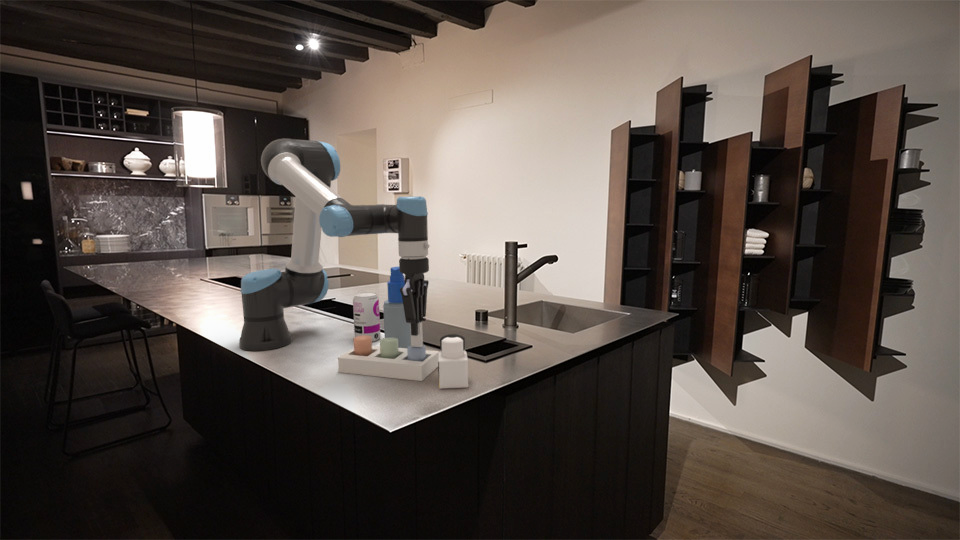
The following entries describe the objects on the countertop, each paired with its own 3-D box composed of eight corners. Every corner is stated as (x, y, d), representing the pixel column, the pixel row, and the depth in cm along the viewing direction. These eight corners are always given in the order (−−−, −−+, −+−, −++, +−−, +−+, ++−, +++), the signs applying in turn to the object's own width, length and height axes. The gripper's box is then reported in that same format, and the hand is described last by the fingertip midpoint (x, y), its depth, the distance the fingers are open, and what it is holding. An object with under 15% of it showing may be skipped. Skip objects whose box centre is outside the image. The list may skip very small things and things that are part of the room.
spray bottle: (394, 342, 155) (391, 264, 151) (419, 344, 152) (416, 265, 148) (379, 350, 146) (376, 268, 143) (405, 353, 143) (403, 270, 140)
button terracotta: (350, 357, 131) (349, 339, 130) (360, 352, 135) (359, 334, 134) (366, 359, 129) (365, 341, 128) (375, 353, 134) (374, 336, 133)
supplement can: (383, 336, 162) (381, 292, 159) (375, 343, 153) (373, 297, 151) (359, 335, 162) (357, 291, 160) (351, 342, 154) (348, 296, 152)
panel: (338, 372, 128) (337, 357, 128) (362, 357, 139) (361, 344, 139) (421, 381, 121) (421, 365, 121) (439, 365, 133) (439, 351, 132)
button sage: (377, 360, 128) (376, 341, 128) (385, 354, 133) (385, 336, 132) (393, 361, 127) (392, 343, 126) (401, 355, 131) (401, 338, 131)
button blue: (404, 367, 126) (404, 348, 125) (412, 361, 131) (412, 343, 130) (421, 369, 125) (421, 350, 124) (428, 363, 129) (428, 345, 129)
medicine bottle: (438, 378, 123) (437, 332, 121) (466, 377, 124) (466, 331, 122) (438, 389, 116) (437, 340, 114) (468, 387, 117) (467, 340, 115)
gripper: (416, 260, 116) (420, 354, 120) (436, 254, 129) (439, 340, 132) (388, 259, 118) (392, 352, 122) (411, 254, 131) (414, 338, 134)
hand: (417, 346), depth 127 cm, fingers closed
